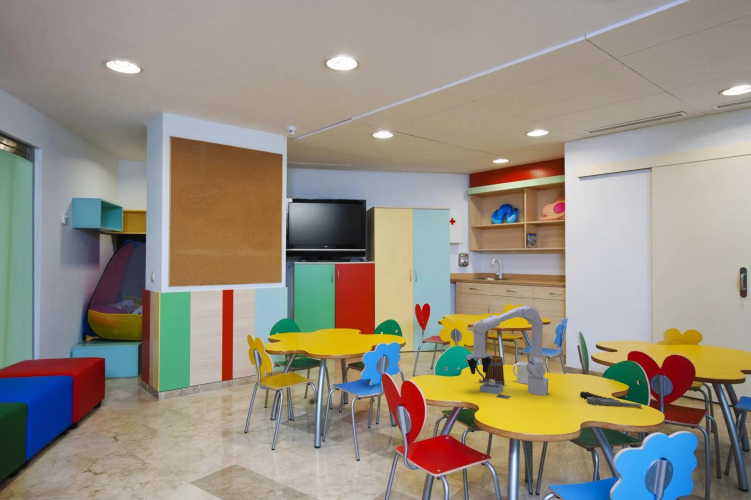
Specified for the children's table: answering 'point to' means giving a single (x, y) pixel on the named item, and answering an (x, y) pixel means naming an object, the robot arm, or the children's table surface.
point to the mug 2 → (521, 372)
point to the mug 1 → (493, 371)
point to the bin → (487, 389)
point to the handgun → (604, 400)
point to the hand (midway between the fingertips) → (479, 373)
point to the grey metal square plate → (503, 396)
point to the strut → (492, 383)
